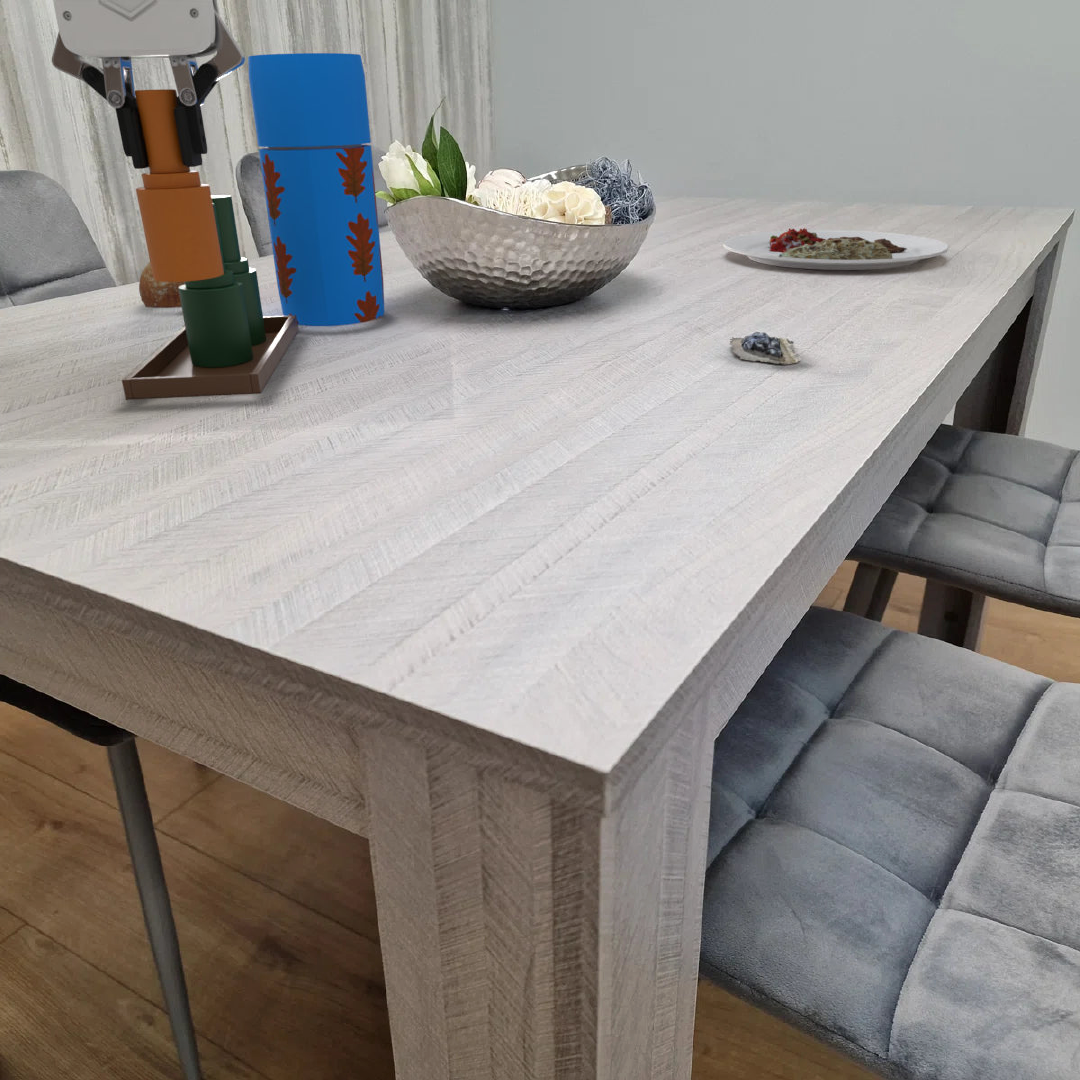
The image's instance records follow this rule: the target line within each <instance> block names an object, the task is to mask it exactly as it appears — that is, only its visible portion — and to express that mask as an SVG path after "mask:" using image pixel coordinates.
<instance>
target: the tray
mask: <svg viewBox="0 0 1080 1080" xmlns="http://www.w3.org/2000/svg"><path fill="white" fill-rule="evenodd" d="M263 321H264V328H265V334H266V341H265V342H263V343H261V344H258V345H255V346H252V352H253V359H252V360H251V361H249V362H246V363H243V364H240V365H235V366H229V367H219V368H205V367H198V366H195V365H193V364H192V362H191V356H190V351H189V345H188V340H187V334H186V329H185V324H184V325H182V327H180V328H179V329H178V330H177V331H176V332H174V334H172V335H171V336H170V337H168V339H167V340H166V341H165V342H163V343H162V344H161V345H160V346H158V347H157V348H156V349H155V350H154V351H153V352H152V353H151V354H150V355H149V356H147V357H146V358H145V359H144V360H143V361H142V362H141V363H140V364H138V365H137V366H136V367H135V368H133V370H132V371H131V372H129V373H128V374H127V375H126V376H125V377H123V378H122V379H121V383H122V389H123V393H124V397H125V401H129V400H131V401H132V400H150V399H151V400H152V399H153V400H155V399H170V398H171V399H172V398H194V397H196V398H197V397H216V396H217V397H218V396H234V395H235V396H236V395H237V396H238V395H259V394H262V392H263V390H264V389H265V387H266V385H267V384H268V382H269V381H270V380H271V377H272V376H273V374H274V373H275V371H276V369H277V367H278V365H279V364H280V363H281V361H282V359H283V357H284V356H285V354H286V352H287V351H288V349H289V347H290V346H291V344H292V342H293V341H294V339H295V337H296V336H297V334H298V333H299V325H298V324H297V317H296V315H291V316H283V315H269V316H268V315H267V316H266V315H265V316H263Z"/></svg>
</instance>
